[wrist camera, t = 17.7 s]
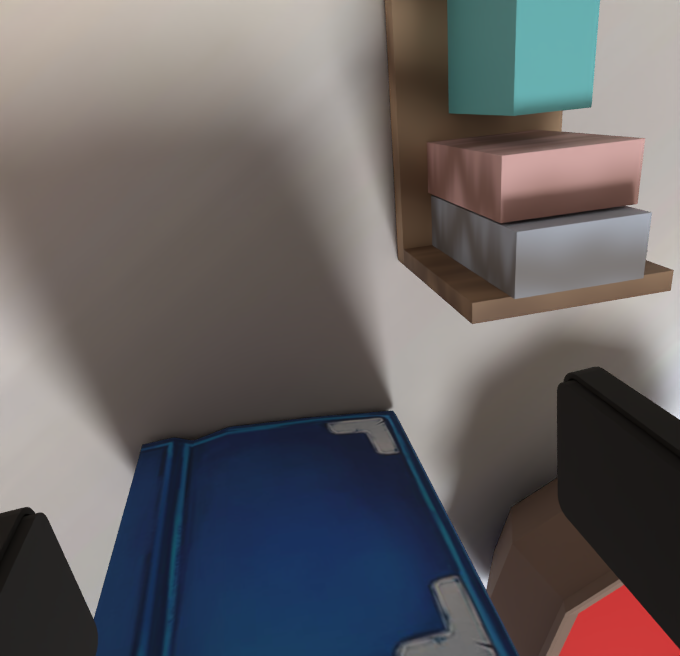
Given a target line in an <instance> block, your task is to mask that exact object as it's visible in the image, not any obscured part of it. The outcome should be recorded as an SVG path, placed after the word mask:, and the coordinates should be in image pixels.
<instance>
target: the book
mask: <svg viewBox="0 0 680 656" xmlns="http://www.w3.org/2000/svg"><path fill="white" fill-rule="evenodd" d="M94 621H95V624H96V627H97V632H98V647H97V652H96V656H520V655H519V653H518V651H517V649H516V648H515V646H514V644H513V642H512V640H511V638H510V636H509V634H508V632H507V630H506V628H505V626H504V624H503V622H502V620H501V618H500V616H499V614H498V612H497V610H496V609H495V607H494V605H493V603H492V601H491V599H490V597H489V595H488V593H487V591H486V589H485V587H484V585H483V583H482V581H481V579H480V577H479V575H478V573H477V572H476V570H475V568H474V566H473V564H472V562H471V560H470V558H469V556H468V554H467V552H466V550H465V548H464V546H463V544H462V542H461V540H460V538H459V536H458V534H457V533H456V531H455V529H454V527H453V525H452V523H451V521H450V519H449V517H448V515H447V513H446V511H445V509H444V507H443V505H442V503H441V501H440V499H439V497H438V496H437V494H436V492H435V490H434V488H433V486H432V484H431V482H430V480H429V478H428V476H427V474H426V472H425V470H424V468H423V466H422V464H421V462H420V460H419V458H418V457H417V455H416V453H415V451H414V449H413V447H412V445H411V443H410V441H409V439H408V437H407V435H406V433H405V431H404V429H403V427H402V425H401V423H400V421H399V420H398V418H397V416H396V414H395V413H394V411H382V412H370V413H357V414H345V415H332V416H319V417H309V418H301V419H292V420H284V421H276V422H268V423H259V424H251V425H243V426H234V427H228V428H225V429H222V430H220V431H217V432H215V433H212V434H209V435H207V436H204V437H202V438H199V439H197V440H194V441H193V440H187V439H181V438H169V439H165V440H161V441H156V442H152V443H148V444H143V445H142V448H141V452H140V455H139V459H138V463H137V466H136V470H135V473H134V477H133V480H132V484H131V488H130V491H129V495H128V498H127V502H126V506H125V509H124V513H123V516H122V520H121V523H120V527H119V531H118V534H117V538H116V541H115V545H114V549H113V552H112V556H111V559H110V563H109V566H108V570H107V574H106V577H105V581H104V584H103V588H102V592H101V595H100V599H99V602H98V606H97V609H96V613H95V617H94Z"/></svg>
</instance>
